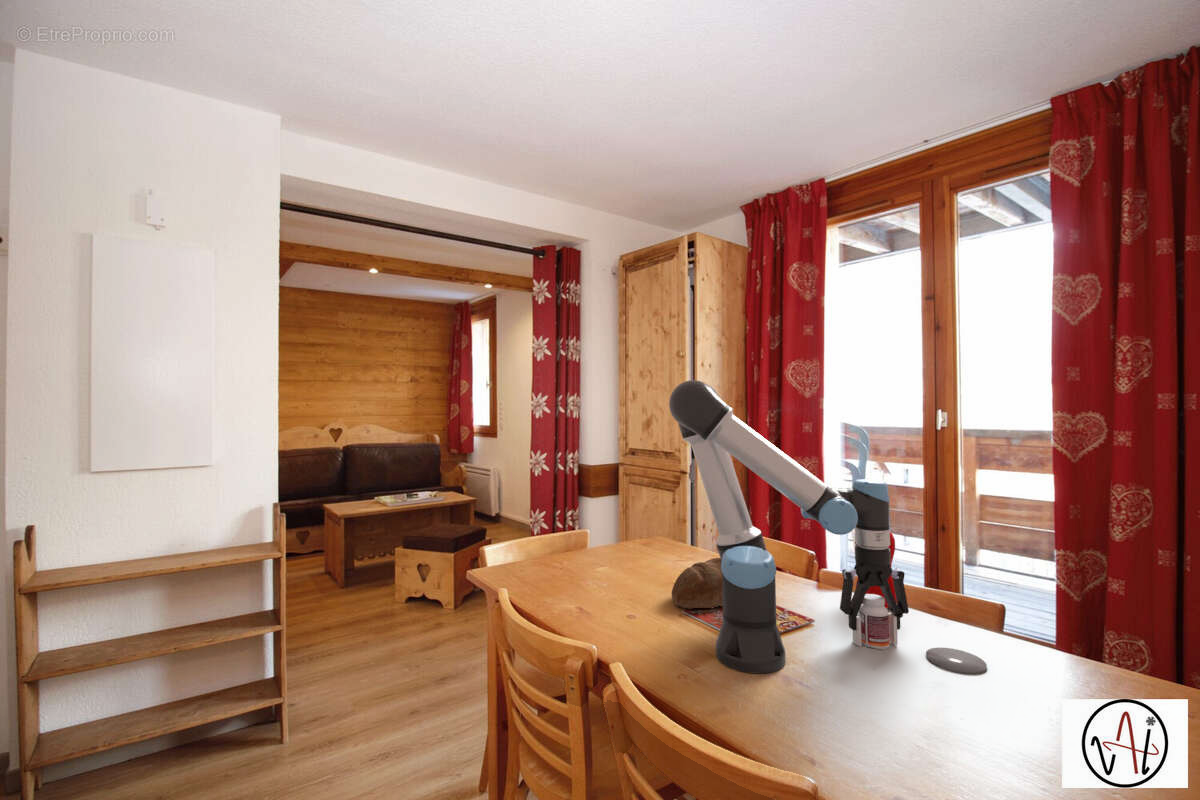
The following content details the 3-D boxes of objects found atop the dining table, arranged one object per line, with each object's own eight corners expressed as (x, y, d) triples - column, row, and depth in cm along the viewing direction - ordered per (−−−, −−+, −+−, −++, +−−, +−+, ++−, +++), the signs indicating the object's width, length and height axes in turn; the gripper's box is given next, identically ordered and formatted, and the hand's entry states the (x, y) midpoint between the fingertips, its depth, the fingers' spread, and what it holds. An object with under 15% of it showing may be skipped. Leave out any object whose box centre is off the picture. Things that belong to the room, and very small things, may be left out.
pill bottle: (895, 645, 123) (893, 598, 124) (880, 652, 120) (879, 603, 120) (869, 636, 129) (868, 590, 129) (854, 642, 125) (853, 596, 125)
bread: (768, 595, 158) (767, 557, 159) (698, 618, 142) (697, 575, 142) (728, 582, 171) (727, 546, 172) (659, 601, 155) (659, 562, 155)
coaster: (946, 674, 110) (946, 671, 110) (915, 650, 121) (915, 647, 121) (999, 673, 110) (999, 670, 110) (963, 649, 121) (963, 647, 121)
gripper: (835, 550, 121) (838, 650, 121) (925, 549, 121) (928, 649, 121) (822, 542, 129) (824, 636, 128) (906, 541, 129) (909, 635, 128)
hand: (874, 642), depth 124 cm, fingers open, 8 cm apart
